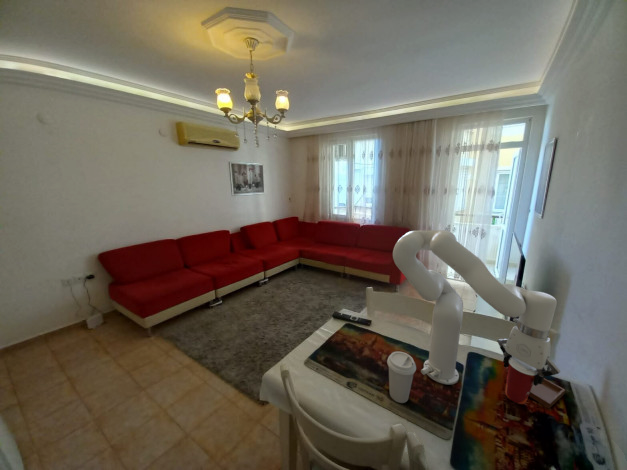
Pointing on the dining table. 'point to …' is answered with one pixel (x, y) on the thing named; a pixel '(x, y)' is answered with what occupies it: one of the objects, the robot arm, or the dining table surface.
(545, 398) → the tray
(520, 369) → the paper cup
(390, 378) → the coffee cup
